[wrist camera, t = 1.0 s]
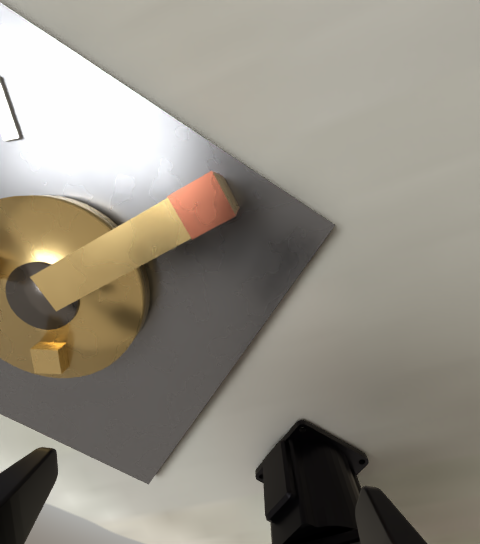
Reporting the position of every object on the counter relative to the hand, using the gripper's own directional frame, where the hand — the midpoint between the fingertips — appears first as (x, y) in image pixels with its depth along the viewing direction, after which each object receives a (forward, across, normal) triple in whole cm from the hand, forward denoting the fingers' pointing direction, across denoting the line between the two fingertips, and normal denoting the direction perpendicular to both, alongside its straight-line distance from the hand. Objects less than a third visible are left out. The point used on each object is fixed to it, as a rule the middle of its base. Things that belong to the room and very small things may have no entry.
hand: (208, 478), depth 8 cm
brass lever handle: (+11, +9, -3) cm, 14 cm away
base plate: (+12, +11, 0) cm, 16 cm away
